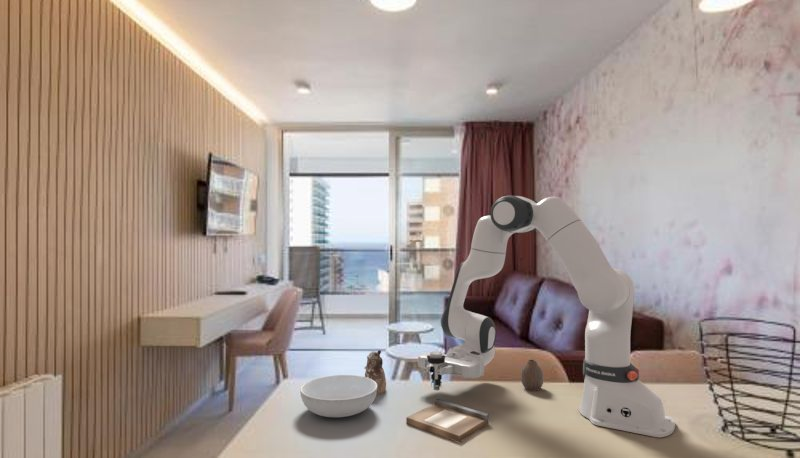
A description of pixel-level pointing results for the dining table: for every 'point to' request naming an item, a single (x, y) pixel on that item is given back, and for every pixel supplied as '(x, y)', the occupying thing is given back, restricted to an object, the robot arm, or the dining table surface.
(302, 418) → the dining table surface
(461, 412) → the brown board with label
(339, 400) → the serving bowl
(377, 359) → the figurine
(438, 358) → the push button
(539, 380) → the vase
